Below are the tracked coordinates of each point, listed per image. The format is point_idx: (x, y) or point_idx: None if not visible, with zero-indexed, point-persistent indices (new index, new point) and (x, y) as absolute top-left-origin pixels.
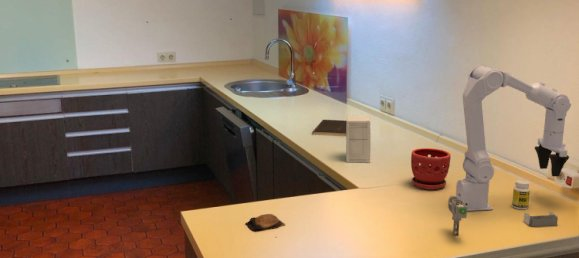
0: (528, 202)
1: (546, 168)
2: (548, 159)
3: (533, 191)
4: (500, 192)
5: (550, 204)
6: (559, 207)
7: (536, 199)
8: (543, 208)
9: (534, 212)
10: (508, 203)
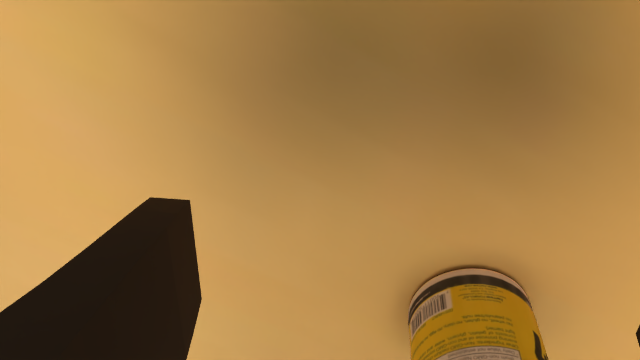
0: (524, 314)
1: (189, 208)
2: (83, 345)
3: (98, 19)
4: None
5: (497, 53)
6: (609, 8)
7: (333, 111)
8: (564, 170)
9: (610, 274)
10: (376, 339)
